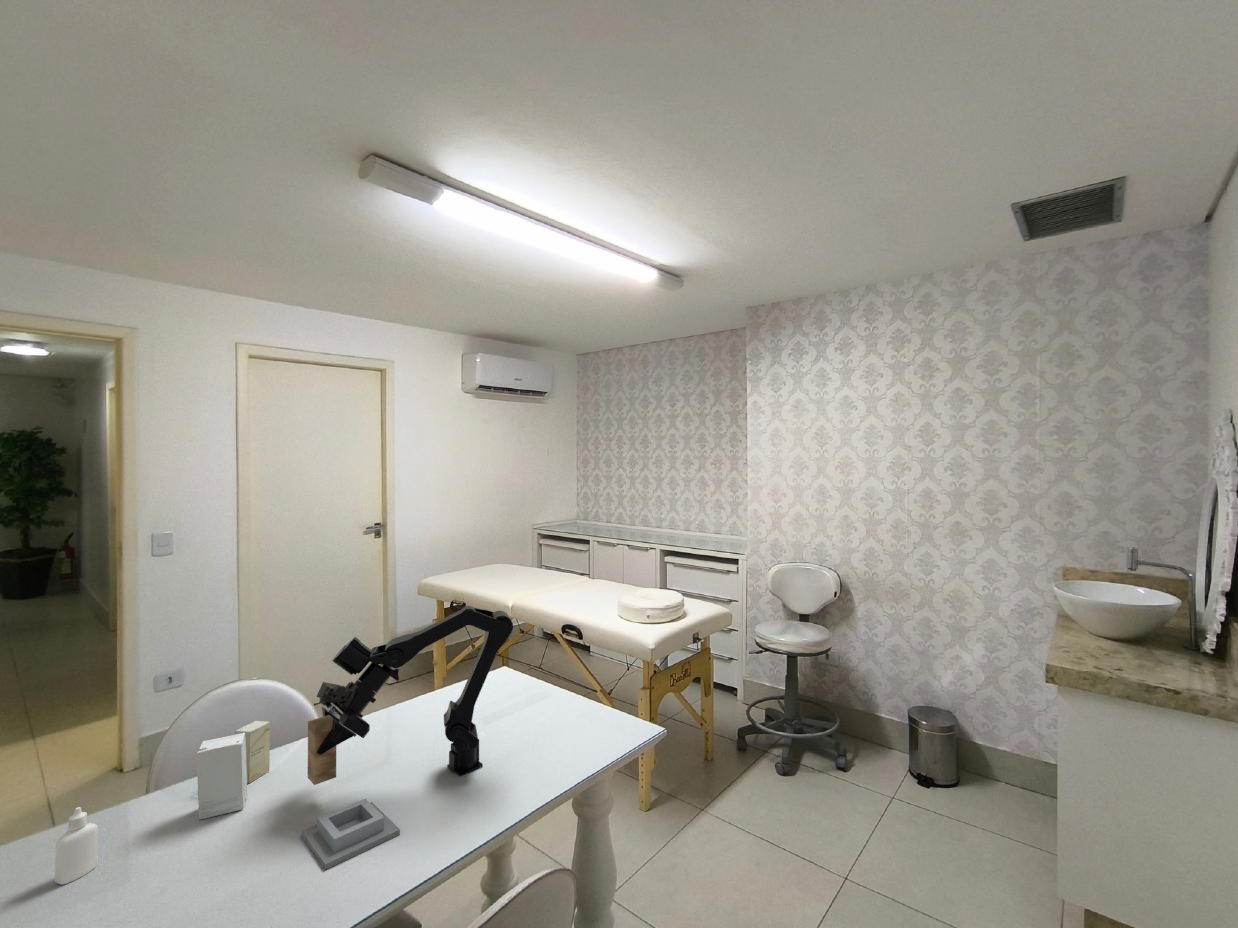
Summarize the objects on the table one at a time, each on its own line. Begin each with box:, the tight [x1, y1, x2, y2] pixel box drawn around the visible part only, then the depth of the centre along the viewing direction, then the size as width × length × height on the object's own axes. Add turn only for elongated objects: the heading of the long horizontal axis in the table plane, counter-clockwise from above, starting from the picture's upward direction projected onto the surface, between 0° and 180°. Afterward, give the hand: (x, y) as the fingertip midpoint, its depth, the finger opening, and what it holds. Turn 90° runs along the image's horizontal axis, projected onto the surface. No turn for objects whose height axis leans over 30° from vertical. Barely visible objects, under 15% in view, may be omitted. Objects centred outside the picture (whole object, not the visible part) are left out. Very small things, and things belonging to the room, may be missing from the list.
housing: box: [300, 798, 401, 870], centre depth 112 cm, size 14×14×4 cm
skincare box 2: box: [234, 720, 271, 784], centre depth 135 cm, size 6×4×12 cm
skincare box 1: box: [196, 733, 248, 821], centre depth 122 cm, size 8×6×15 cm
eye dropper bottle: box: [54, 806, 99, 885], centre depth 102 cm, size 4×6×12 cm
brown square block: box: [307, 715, 337, 786], centre depth 124 cm, size 4×4×12 cm
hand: (315, 749), depth 123 cm, fingers closed on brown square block, 5 cm apart
